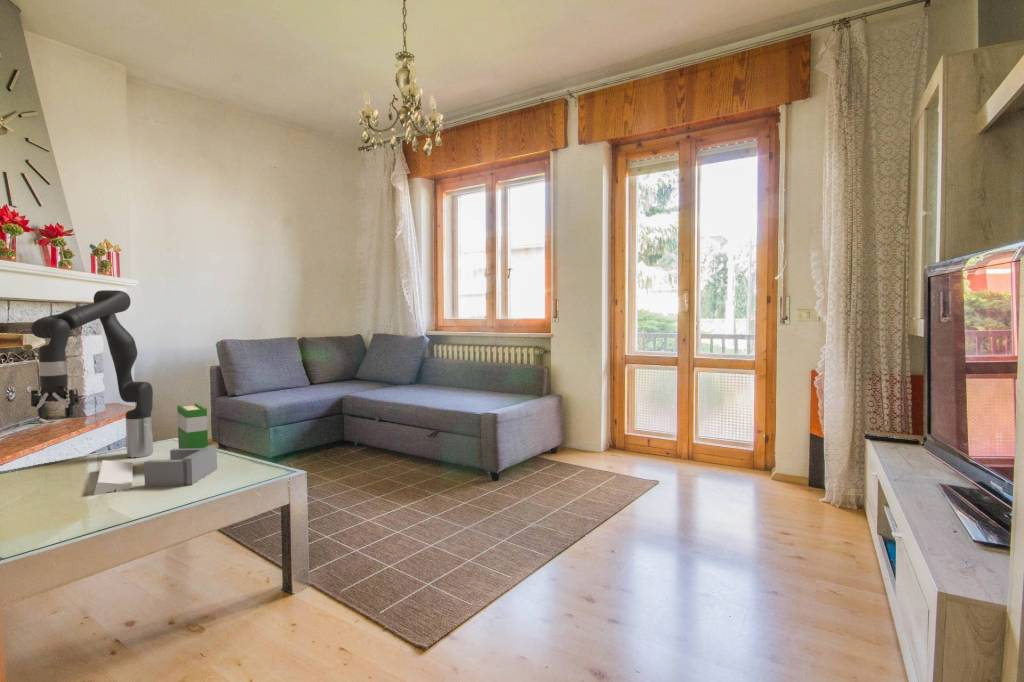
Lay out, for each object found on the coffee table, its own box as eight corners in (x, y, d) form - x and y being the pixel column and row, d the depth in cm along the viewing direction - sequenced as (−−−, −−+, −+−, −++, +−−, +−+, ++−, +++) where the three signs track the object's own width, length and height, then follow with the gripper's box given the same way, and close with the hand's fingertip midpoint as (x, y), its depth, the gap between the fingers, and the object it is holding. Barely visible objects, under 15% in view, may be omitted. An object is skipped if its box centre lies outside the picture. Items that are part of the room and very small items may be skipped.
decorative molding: (129, 474, 209) (98, 471, 203) (132, 462, 210) (102, 460, 204) (128, 497, 182) (93, 496, 176) (132, 484, 182) (97, 482, 176)
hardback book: (179, 459, 219) (177, 405, 218) (198, 456, 224) (197, 403, 223) (187, 468, 206) (186, 411, 205) (208, 465, 212) (206, 408, 210)
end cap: (174, 470, 204) (173, 446, 203) (217, 469, 205) (216, 445, 205) (144, 486, 185) (143, 459, 184) (192, 485, 186) (191, 458, 186)
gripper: (82, 372, 187) (84, 415, 188) (40, 372, 186) (42, 415, 187) (66, 374, 180) (69, 419, 181) (23, 375, 178) (25, 420, 179)
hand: (56, 417), depth 184 cm, fingers open, 8 cm apart
